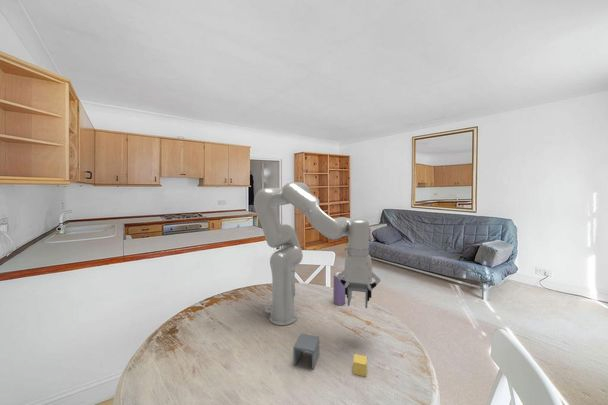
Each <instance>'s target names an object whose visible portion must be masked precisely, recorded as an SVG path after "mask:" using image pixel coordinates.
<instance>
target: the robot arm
mask: <svg viewBox="0 0 608 405" xmlns="http://www.w3.org/2000/svg"><path fill="white" fill-rule="evenodd" d="M253 200H254V201H253V208H254V210H255V212H256V215H257V217H258V220H259V223H260V226H261V229H262V232H263V235H264V238H265V241H266V244H267V246H268V247H269V248H272V249H276V248H280V247H282V248H281V249H278V250H276V251H274V252H273V253H272V254H271V256H270V258H269V266H270V271H271V279H272V280H271V281H272V282H271V284H272V306H270V305H266V306H265V309H264V310H265V313H268V314H269V321H270V322H271V323H272V324H274V325H277V326H288V325H291V324H293V323H295V322H296V321H297V320H298V313H297V312H296V311H295V305H294V304H295V301H294V300H295V299H294V298H295V296H294V295H295V294H294V284H293V276H292V273H291V268H292V267H294V266H295V267H296V266H298V265H299V264H301V262H302V260H303V250H302V247H301V245H300V242H299V239H298V235H297V232H296V231H295V229H294V228H293V227H292V226H291V225H290V224H285V223H284V224H281V221H280V218H279V215H278V214H277V212H276V211H275V209H273V207H276V206H278V207H279V206H285V205H286V206H287V205H289V204H290V205H292V206H293V207H295V208H296V209H297V210H299V211H300V212H301V213H303V214H304V215H305V217H306V219H307V220H308V222H309V224H310V225H311V226H312V228H314V229H315V230H316V231H317V232H319V233H320V234H321V235H322V236H324V237H326V238H327V239H329V240H338V239H340V238H343V237H346V236H348V239H347V240H348V241H347V242H348V244H347V245H348V246H347V247H344V252H345V253H347V254H346V256H345V260H344V269H343V270H342V271H341V272H339V273H340V274H338V275H337V278H338V279H339V280H340V281H341V283H342V284H343V285H344V287H345V296H346V299H348V286H349V283H357V284H366V285H367V287H368V297H367V300H368V302H369V301H370V299H372V290H374V288H376V287H377V285H379V283H380V282H381V278H380V277H378V275H376V273H374V272H373V264H372V258H371V255H370V253H369V252H370V246H369V244H370V242H369V241H370V222H369V221H368V220H367V219H364V218H350V217H345V216H340V217H335V218H333V217H331V216H330V215H328V214H327V213H326V212H325V211H323V209H321V207H320V199H319V197H317V196H315V195H313V194H312V193H311V190H310V188H309V186H308V185H307V184H306V183H305V182H301V181H298V182H295V181H291V182H287V183H286V184H284V185H283V186H282V187H265V188H261V189H259V190H258V191H257V193H256V194H255V195H254V199H253ZM343 275H344V279H343V278H342V276H343ZM373 279H374V282H373Z"/></svg>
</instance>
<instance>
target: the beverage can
mask: <svg viewBox="0 0 608 405" xmlns="http://www.w3.org/2000/svg"><path fill="white" fill-rule="evenodd" d="M340 273H341V272H335V273H333V278H332V279H333V283H332V284H333V290H332V291H333V293H332V294H333V298H332V300H333V303H334V305H336V306H343V305H345V303H346V295H345V287H344V285H343V284H342V283H341V281H340V280H339V279H338V278H337V275H338V274H340ZM342 278H343V279H344V275H343V276H342Z"/></svg>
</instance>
